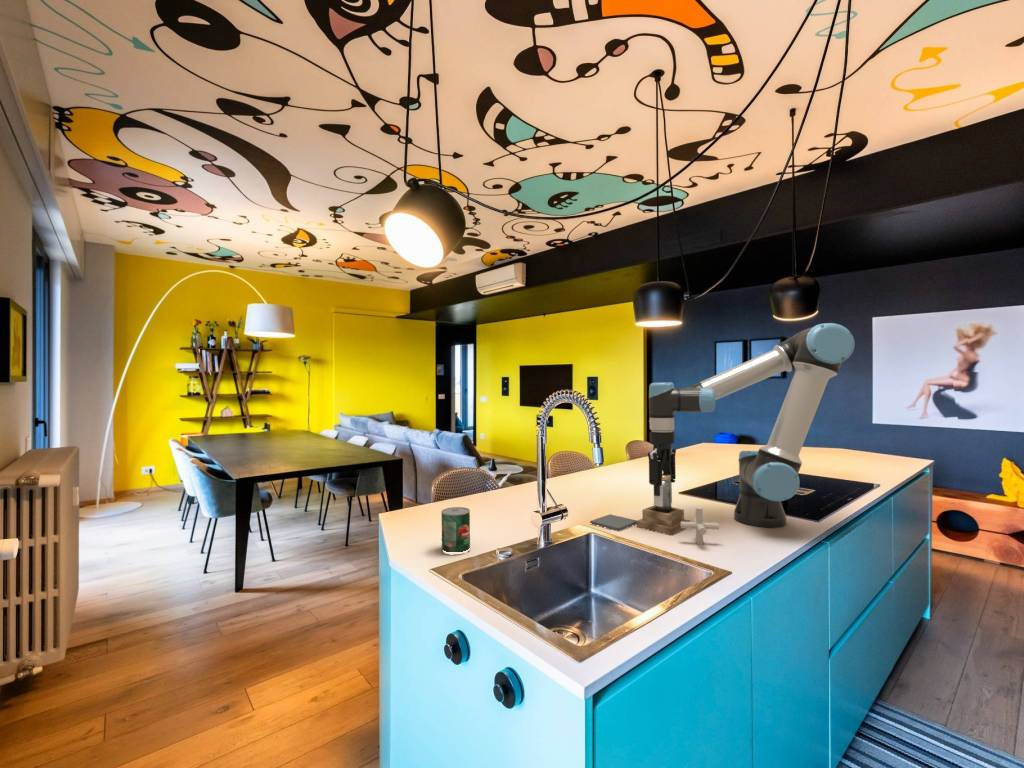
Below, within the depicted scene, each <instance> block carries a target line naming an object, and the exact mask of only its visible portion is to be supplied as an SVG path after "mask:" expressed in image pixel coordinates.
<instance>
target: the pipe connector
mask: <svg viewBox="0 0 1024 768" xmlns="http://www.w3.org/2000/svg"><path fill="white" fill-rule="evenodd" d="M703 509H704V508H703V507H695V517H694V518H693V519H692V521H690V522H680V526H681V528H687V529H695V544H696V545H701V544H702V545H704V535H706V534H707V530H715V531H718V530H720V526H719V523H718V522H704V520H703V519H704V516H703V515H704V514H703V511H704V510H703Z"/></svg>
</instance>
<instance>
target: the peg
mask: <svg viewBox="0 0 1024 768" xmlns="http://www.w3.org/2000/svg"><path fill="white" fill-rule="evenodd" d="M661 485H662V486H663V507H660V506H655V511H658V512H663V513H670V512H671V507H672V503H671V475H670V474H663V472H662V481H661Z"/></svg>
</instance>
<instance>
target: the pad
mask: <svg viewBox="0 0 1024 768" xmlns="http://www.w3.org/2000/svg"><path fill="white" fill-rule="evenodd" d="M636 521H637V520H635V519H632V518H628V517H623V516H620V515H619V516H618V515H614V514H611V513H609V514H607V515H603V516H601V517H599V518H598V517H597V518H595V519H591V520H590V521H589V524H590V523H592V524H595V525H594V526H596V525H599V526H598V527H600V526H602V527H601V528H604V527H606V528H605V529H608V528H609V529H608V530H612V529H613V531H616V530H617V531H616V532H620V530H621V531H623V529H624V530H626V529H628V528H627V527H629V528H631V527H633V526H632V525H634V526H636V525H635V524H636ZM592 524H591V525H592ZM630 526H631V527H630ZM625 528H626V529H625Z"/></svg>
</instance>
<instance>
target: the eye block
mask: <svg viewBox="0 0 1024 768" xmlns="http://www.w3.org/2000/svg"><path fill="white" fill-rule="evenodd" d="M641 512H642V518H640V519H638V520H637V521H636V525H635V526H637V527H636V528H638V527H641V528H640V529H642V528H645V529H644V530H646V529H649V530H648V531H651V530H653V531H652V532H655V531H657V532H656V533H659V532H660V533H659V534H663V533H665V534H664V535H667V534H668V536H671V535H672V536H674V535H677V534H678V533H681V532H683V531H685V530H687V529H686V528H681V526H680V522H691V520H690V519H685V509H682V508H678V507H672V506H671V512H670V513H663V512H658V511H655V506H654V505H652V506H649V507H647V508H646V507H645V508H643V509H642V511H641ZM684 529H685V530H684ZM682 530H683V531H682ZM673 534H674V535H673Z"/></svg>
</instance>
